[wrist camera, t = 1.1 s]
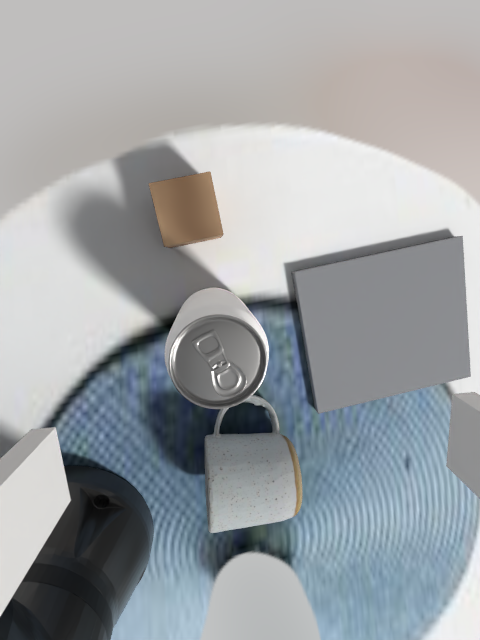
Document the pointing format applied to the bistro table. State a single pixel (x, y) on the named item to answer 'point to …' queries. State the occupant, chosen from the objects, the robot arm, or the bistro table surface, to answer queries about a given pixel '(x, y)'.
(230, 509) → the ceramic mug
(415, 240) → the bistro table surface
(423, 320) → the mat
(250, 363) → the can
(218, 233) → the walnut block
